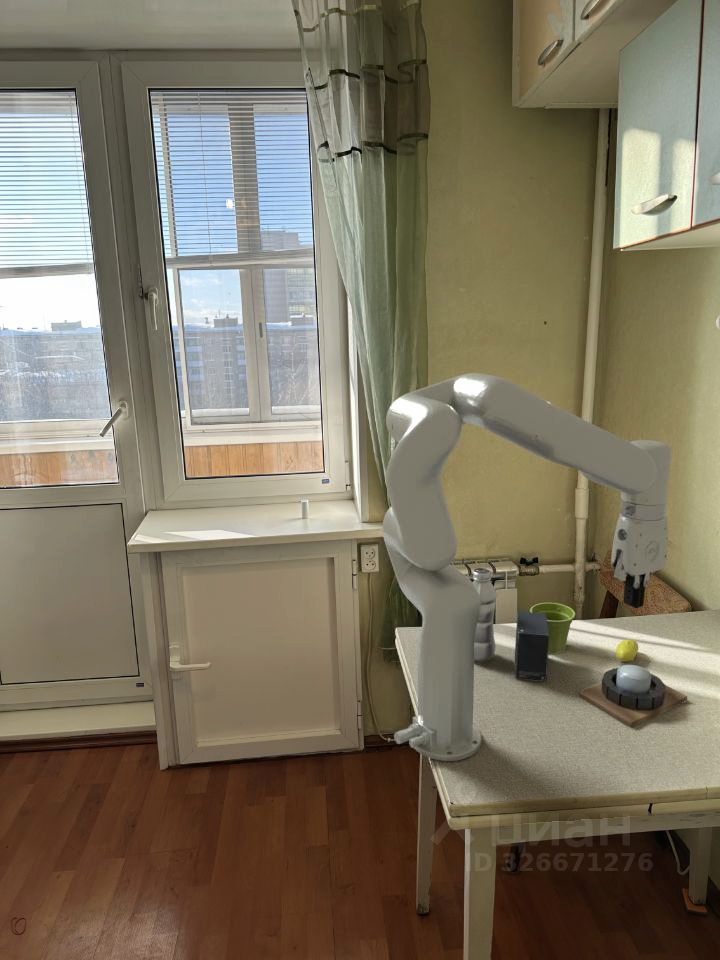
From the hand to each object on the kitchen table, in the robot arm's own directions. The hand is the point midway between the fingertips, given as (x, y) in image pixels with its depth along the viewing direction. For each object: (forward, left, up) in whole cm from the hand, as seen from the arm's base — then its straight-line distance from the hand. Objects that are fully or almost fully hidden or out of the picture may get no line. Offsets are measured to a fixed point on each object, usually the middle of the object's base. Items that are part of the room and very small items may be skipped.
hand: (633, 604), depth 127 cm
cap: (+1, -1, -18) cm, 18 cm away
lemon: (+13, +10, -20) cm, 26 cm away
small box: (-7, +18, -20) cm, 28 cm away
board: (+1, -1, -19) cm, 19 cm away
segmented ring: (+1, -1, -19) cm, 19 cm away
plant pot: (+3, +22, -20) cm, 30 cm away
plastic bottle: (-13, +27, -20) cm, 36 cm away
